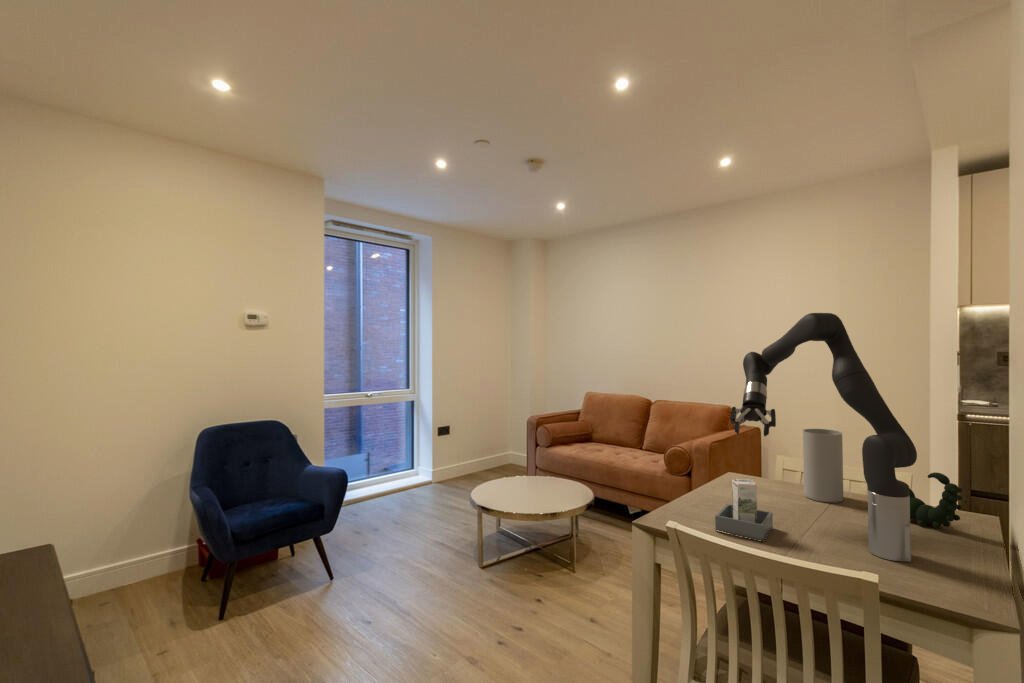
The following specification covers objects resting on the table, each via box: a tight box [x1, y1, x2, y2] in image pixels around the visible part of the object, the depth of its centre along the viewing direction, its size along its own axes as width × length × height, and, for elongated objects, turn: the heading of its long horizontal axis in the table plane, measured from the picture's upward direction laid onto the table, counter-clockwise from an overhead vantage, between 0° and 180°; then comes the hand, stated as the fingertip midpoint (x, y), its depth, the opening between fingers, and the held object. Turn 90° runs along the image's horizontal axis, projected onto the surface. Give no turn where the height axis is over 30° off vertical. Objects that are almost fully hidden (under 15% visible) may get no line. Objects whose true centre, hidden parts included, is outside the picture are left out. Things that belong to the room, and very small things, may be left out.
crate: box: [714, 503, 774, 542], centre depth 151 cm, size 14×14×5 cm
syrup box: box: [731, 478, 758, 523], centre depth 151 cm, size 6×6×14 cm
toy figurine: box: [909, 472, 963, 529], centre depth 156 cm, size 9×19×25 cm
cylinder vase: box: [802, 428, 844, 504], centre depth 180 cm, size 12×12×25 cm
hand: (751, 433), depth 164 cm, fingers open, 8 cm apart
